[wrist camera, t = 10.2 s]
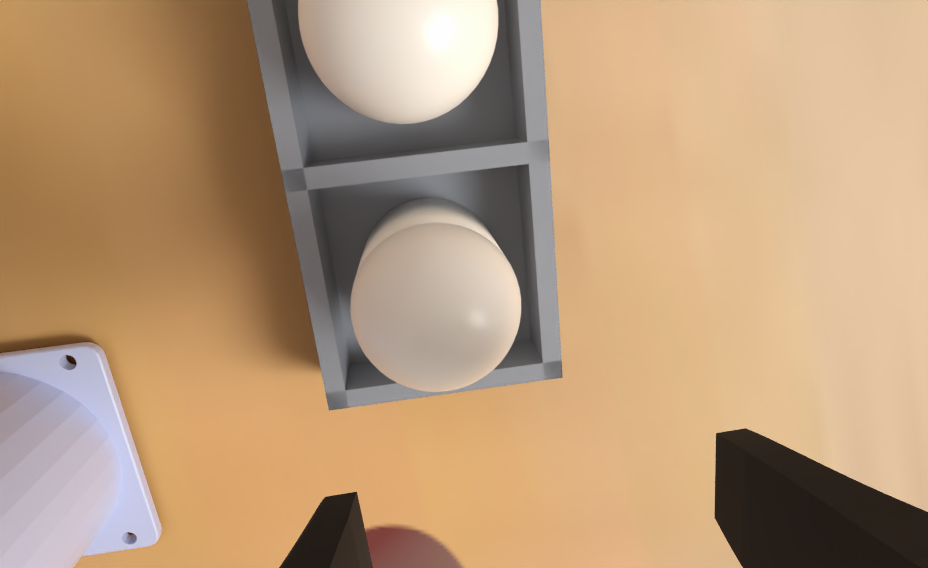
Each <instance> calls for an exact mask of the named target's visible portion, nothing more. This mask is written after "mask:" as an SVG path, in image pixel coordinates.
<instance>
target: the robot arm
mask: <svg viewBox="0 0 928 568" xmlns="http://www.w3.org/2000/svg"><path fill="white" fill-rule="evenodd" d="M66 355H70V356H72V357H73V358H75V360H76V361H77V365H73V364H71V363H69V362H68V360H67V359H66ZM715 519H716V521H717V523H718V525H719V526H720V528H721V530H722V532H723V534H724V536H725V538H726V539H727V541H728V543H729V545H730V547H731V548H732V550H733V552H734V553H735V555H736V557H737V559H738V560H739V562H740V564H741V565H742V567H743V568H928V512H926V511H924V510H921V509H919V508H917V507H914V506H912V505H910V504H907V503H905V502H903V501H900V500H898V499H896V498H893V497H891V496H889V495H886V494H884V493H882V492H880V491H877V490H875V489H873V488H871V487H869V486H866V485H864V484H862V483H860V482H858V481H856V480H853V479H851V478H849V477H847V476H845V475H843V474H841V473H839V472H837V471H834V470H832V469H830V468H828V467H826V466H824V465H822V464H820V463H818V462H816V461H814V460H812V459H810V458H808V457H806V456H804V455H802V454H800V453H798V452H795V451H793V450H791V449H789V448H787V447H785V446H783V445H781V444H779V443H777V442H775V441H773V440H771V439H769V438H766V437H764V436H762V435H760V434H758V433H755V432H753V431H750V430H748V429H740V430H734V431H727V432H721V433H716V473H715ZM127 532H131V533H133V534H135V535H136V536H131V535H129V534H128V533H127ZM161 532H162V527H161V524H160V521H159V518H158V515H157V512H156V509H155V506H154V503H153V500H152V497H151V493H150V490H149V487H148V484H147V481H146V478H145V475H144V472H143V469H142V466H141V463H140V460H139V457H138V454H137V450H136V447H135V444H134V441H133V438H132V435H131V432H130V429H129V426H128V423H127V420H126V417H125V414H124V411H123V407H122V404H121V401H120V398H119V395H118V392H117V389H116V386H115V383H114V380H113V377H112V374H111V371H110V367H109V364H108V361H107V358H106V355H105V353H104V351H103V349H102V348H101V347H99V346H98V345H97V344H94V343H91V342H82V343H74V344H67V345H59V346H51V347H44V348H36V349H29V350H21V351H13V352H6V353H0V568H73V567H74V566H75V564H76V563H77V562H78V560H79V559H80V557H81V556H88V555H94V554H101V553H108V552H114V551H121V550H127V549H134V548H140V547H147V546H151V545H153V544H154V543H156V542H157V540H158V538H159V537H160V535H161ZM279 568H373V566H372V562H371V557H370V552H369V547H368V543H367V538H366V533H365V528H364V524H363V519H362V514H361V510H360V505H359V500H358V495H357V492H353V493H347V494H341V495H334V496H328V497H325V498H324V499H323V501H322V502H321V503H320V505H319V506H318V508H317V510H316V511H315V513H314V514H313V516H312V518H311V519H310V521H309V523H308V524H307V526H306V527H305V529H304V531H303V532H302V534H301V535H300V537H299V539H298V540H297V542H296V543H295V545H294V546H293V548H292V550H291V551H290V553H289V554H288V556H287V557H286V559H285V560H284V562H283V563H282V565H281V566H280V567H279Z"/></svg>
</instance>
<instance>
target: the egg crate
mask: <svg viewBox="0 0 928 568" xmlns="http://www.w3.org/2000/svg"><path fill="white" fill-rule="evenodd" d="M247 4H248V9H249V14H250V19H251V24H252V29H253V34H254V39H255V44H256V49H257V54H258V59H259V64H260V69H261V74H262V79H263V84H264V89H265V94H266V99H267V104H268V109H269V114H270V119H271V124H272V129H273V134H274V139H275V143H276V148H277V153H278V158H279V163H280V168H281V173H282V178H283V183H284V188H285V193H286V198H287V203H288V208H289V213H290V218H291V223H292V228H293V233H294V238H295V243H296V248H297V253H298V258H299V263H300V268H301V273H302V278H303V283H304V288H305V293H306V298H307V303H308V308H309V313H310V318H311V323H312V328H313V333H314V338H315V343H316V347H317V352H318V357H319V362H320V367H321V372H322V377H323V382H324V387H325V392H326V397H327V402H328V407H329V410H336V409H343V408H350V407H357V406H364V405H371V404H378V403H385V402H392V401H399V400H407V399H414V398H421V397H428V396H435V395H442V394H449V393H456V392H463V391H470V390H477V389H485V388H492V387H499V386H506V385H513V384H520V383H527V382H534V381H541V380H548V379H555V378H563V377H562V360H561V343H560V326H559V309H558V292H557V275H556V258H555V241H554V224H553V207H552V190H551V173H550V156H549V139H548V122H547V105H546V88H545V70H544V53H543V36H542V19H541V2H540V0H247Z"/></svg>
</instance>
